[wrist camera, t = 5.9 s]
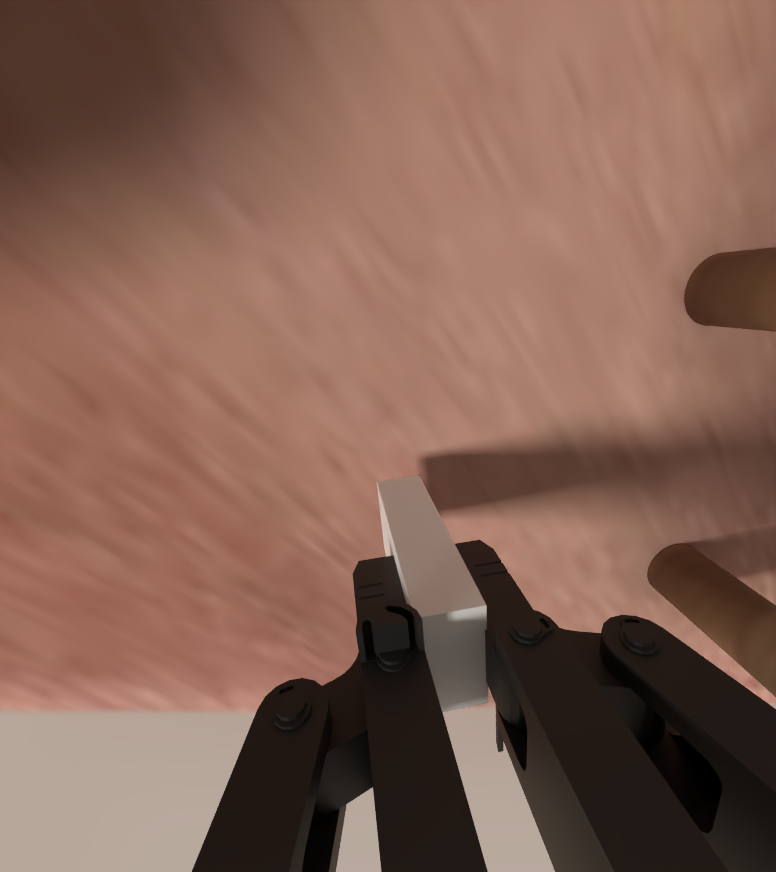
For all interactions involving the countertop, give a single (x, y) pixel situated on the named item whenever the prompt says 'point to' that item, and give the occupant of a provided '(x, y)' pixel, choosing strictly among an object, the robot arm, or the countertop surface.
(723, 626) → the post outer
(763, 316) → the post inner
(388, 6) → the countertop surface
